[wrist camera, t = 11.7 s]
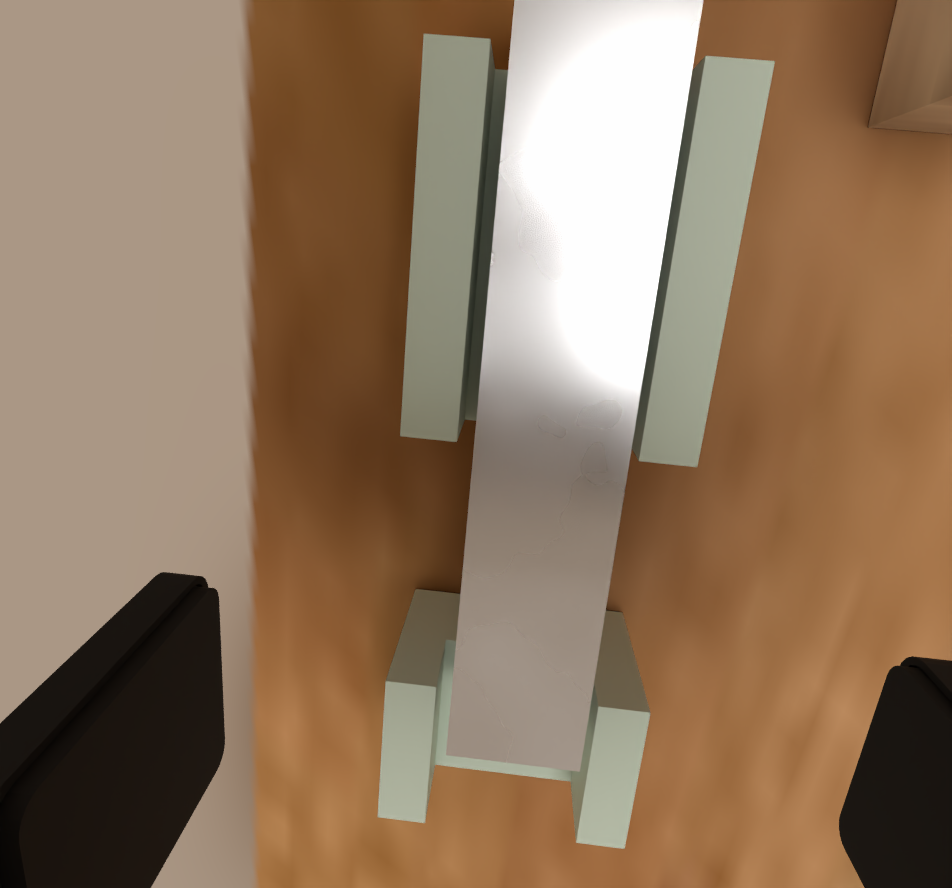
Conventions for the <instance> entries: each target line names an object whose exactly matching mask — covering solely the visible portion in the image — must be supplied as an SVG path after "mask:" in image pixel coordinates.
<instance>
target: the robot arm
mask: <svg viewBox="0 0 952 888" xmlns="http://www.w3.org/2000/svg"><path fill="white" fill-rule="evenodd" d="M222 685H223V684H222V661H221V636H220V613H219V596H218V592H217V590H216V589H214V588H208V584H207V582H206V579H205V578H203V577H202V576H194V575H185V574H176V573H166V572H163V573H160V574H158V575H157V576H155V577H154V578H153V579H152V580H151V581H150V582H149V583H148V584H147V585H146V586H145V587H144V588H143V589H142V590H141V591H139V593H137V594H136V595H135V596H134V597H133V598H132V599H131V600H130V601H129V602H128V603H127V604H126V605H125V606H124V607H123V608H122V609H120V611H118V612H117V613H116V614H115V615H114V616H113V617H112V618H111V619H110V620H109V621H108V622H107V623H106V624H105V625H104V626H103V627H102V628H100V629H99V630H98V631H97V632H96V633H95V634H94V635H93V636H92V637H91V638H90V639H89V640H88V641H87V642H86V643H85V644H84V645H82V646H81V647H80V649H78V650H77V651H76V652H75V653H74V654H73V655H72V656H71V657H70V658H69V659H68V660H67V661H66V662H65V663H63V664H62V665H61V666H60V667H59V668H58V669H57V670H56V671H55V672H54V673H53V674H52V675H51V676H50V677H49V678H48V679H47V680H46V681H44V682H43V683H42V685H40V686H39V687H38V688H37V689H36V690H35V691H34V692H33V693H32V694H31V695H30V696H29V697H28V698H27V699H25V701H23V702H22V703H21V704H20V705H19V706H18V707H17V708H16V709H15V710H14V711H13V712H12V713H11V714H10V715H9V716H8V717H6V718H5V719H4V720H3V721H2V722H1V723H0V888H151V886H152V884H153V883H154V881H155V879H156V877H157V876H158V874H159V872H160V870H161V868H162V867H163V865H164V863H165V862H166V859H167V858H168V856H169V854H170V853H171V851H172V849H173V847H174V846H175V844H176V842H177V840H178V839H179V837H180V835H181V833H182V831H183V830H184V828H185V826H186V824H187V823H188V821H189V819H190V817H191V816H192V814H193V812H194V810H195V808H196V806H197V805H198V803H199V801H200V800H201V798H202V796H203V794H204V792H205V791H206V789H207V787H208V785H209V784H210V782H211V780H212V778H213V777H214V775H215V773H216V771H217V769H218V767H219V765H220V762H221V759H222V756H223V751H224V745H225V732H224V711H223V709H224V708H223V686H222ZM839 831H840V837H841V841H842V844H843V846H844V849H845V851H846V853H847V854H848V856H849V858H850V860H851V862H852V864H853V866H854V868H855V870H856V872H857V874H858V876H859V878H860V880H861V882H862V883H863V885H864V887H865V888H952V661H948V660H939V659H930V658H921V657H913V656H912V657H908V658H906V659H905V660H904V661H903V662H902V663H901V665H900V666H895V667H893V668H891V669H890V671H889V673H888V675H887V677H886V680H885V683H884V686H883V689H882V692H881V695H880V698H879V701H878V704H877V707H876V710H875V713H874V716H873V719H872V722H871V725H870V728H869V731H868V734H867V737H866V740H865V743H864V746H863V749H862V752H861V755H860V758H859V761H858V764H857V766H856V769H855V772H854V775H853V778H852V781H851V784H850V787H849V790H848V793H847V796H846V799H845V802H844V805H843V808H842V811H841V814H840V819H839Z"/></svg>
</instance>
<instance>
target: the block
mask: <svg viewBox="0 0 952 888" xmlns="http://www.w3.org/2000/svg"><path fill="white" fill-rule="evenodd" d="M868 127H871V128H883V129H895V130H907V131H919V132H931V133H944V134H952V0H897V4H896V8H895V13H894V17H893V21H892V26H891V30H890V34H889V38H888V43H887V47H886V51H885V56H884V60H883V64H882V69H881V73H880V77H879V82H878V86H877V90H876V95H875V99H874V103H873V108H872V112H871V116H870V121H869V125H868Z"/></svg>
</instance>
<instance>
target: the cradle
mask: <svg viewBox="0 0 952 888" xmlns="http://www.w3.org/2000/svg"><path fill="white" fill-rule="evenodd" d="M774 63H775V61H766V60H754V59H741V58H728V57H715V56H705V57H704V58H703V59H702V60H701V61H700V63H699V64H698V65H697V66H696V67H695V68H694V69H693V70H692V75H691V81H690V87H689V93H688V100H687V106H686V112H685V118H684V125H683V131H682V137H681V143H680V150H679V156H678V162H677V168H676V174H675V181H674V187H673V193H672V199H671V206H670V212H669V218H668V224H667V231H666V237H665V243H664V249H663V256H662V262H661V268H660V274H659V281H658V287H657V293H656V299H655V306H654V312H653V318H652V324H651V331H650V337H649V343H648V349H647V356H646V362H645V368H644V374H643V380H642V387H641V393H640V399H639V405H638V412H637V418H636V424H635V430H634V437H633V443H632V450H633V451H634V453H635V455H636V457H637V459H638V460H639V461H642V462H652V463H661V464H671V465H681V466H690V467H697V466H698V461H699V456H700V451H701V445H702V440H703V435H704V430H705V425H706V419H707V414H708V409H709V404H710V398H711V393H712V388H713V383H714V377H715V372H716V367H717V362H718V356H719V351H720V346H721V341H722V336H723V330H724V325H725V320H726V315H727V309H728V304H729V299H730V294H731V288H732V283H733V278H734V273H735V267H736V262H737V257H738V252H739V247H740V241H741V236H742V231H743V226H744V220H745V215H746V210H747V205H748V199H749V194H750V189H751V184H752V178H753V173H754V168H755V163H756V158H757V152H758V147H759V142H760V137H761V131H762V126H763V121H764V116H765V110H766V105H767V100H768V95H769V89H770V84H771V79H772V74H773V69H774ZM507 78H508V70H499V69H495V65H494V58H493V52H492V45H491V39H487V38H474V37H461V36H448V35H436V34H424V38H423V55H422V72H421V89H420V106H419V123H418V140H417V157H416V174H415V191H414V208H413V225H412V242H411V259H410V276H409V293H408V310H407V327H406V344H405V361H404V379H403V396H402V413H401V430H400V436H403V437H412V438H422V439H432V440H441V441H451V442H457V440H458V437H459V435H460V432H461V429H462V426H463V423H464V421H465V420H474V421H476V418H477V407H478V396H479V385H480V374H481V363H482V352H483V341H484V330H485V319H486V308H487V297H488V286H489V275H490V264H491V253H492V242H493V231H494V220H495V209H496V198H497V187H498V176H499V165H500V154H501V143H502V132H503V122H504V111H505V100H506V89H507ZM459 605H460V594H456V593H448V592H439V591H430V590H421V589H415V592H414V595H413V598H412V601H411V605H410V608H409V611H408V614H407V617H406V620H405V623H404V626H403V629H402V632H401V635H400V638H399V642H398V645H397V648H396V651H395V654H394V657H393V660H392V663H391V666H390V669H389V672H388V675H387V679H386V685H385V702H384V719H383V736H382V753H381V770H380V787H379V804H378V817H381V818H389V819H397V820H404V821H412V822H420V823H425V820H426V814H427V808H428V802H429V797H430V791H431V785H432V779H433V774H434V768H435V765H443V766H451V767H459V768H467V769H475V770H483V771H491V772H499V773H507V774H515V775H523V776H531V777H539V778H547V779H555V780H563V781H571V791H572V802H573V814H574V825H575V836H576V843H583V844H591V845H599V846H606V847H614V848H622V849H625V843H626V838H627V833H628V828H629V822H630V817H631V812H632V807H633V802H634V796H635V791H636V786H637V781H638V775H639V770H640V765H641V760H642V754H643V749H644V744H645V739H646V733H647V728H648V723H649V718H650V709H649V706H648V702H647V699H646V695H645V691H644V688H643V684H642V681H641V677H640V673H639V670H638V666H637V663H636V659H635V655H634V652H633V648H632V645H631V641H630V637H629V634H628V630H627V627H626V623H625V619H624V616H623V612H614V611H605V618H604V624H603V630H602V636H601V643H600V649H599V655H598V661H597V668H596V674H595V680H594V686H593V693H592V699H591V705H590V711H589V718H588V724H587V730H586V736H585V743H584V749H583V755H582V761H581V767H580V772H578V771H570V770H562V769H554V768H546V767H537V766H529V765H521V764H513V763H505V762H497V761H489V760H481V759H473V758H465V757H457V756H449V755H446V748H447V737H448V726H449V715H450V704H451V693H452V682H453V671H454V660H455V649H456V638H457V627H458V616H459Z"/></svg>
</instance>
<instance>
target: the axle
mask: <svg viewBox="0 0 952 888" xmlns="http://www.w3.org/2000/svg"><path fill="white" fill-rule="evenodd" d="M702 6H703V0H515V1H514V12H513V23H512V34H511V45H510V56H509V67H508V78H507V89H506V100H505V111H504V122H503V132H502V143H501V154H500V165H499V176H498V187H497V198H496V209H495V220H494V231H493V242H492V253H491V264H490V275H489V286H488V297H487V308H486V319H485V330H484V341H483V352H482V363H481V374H480V385H479V396H478V407H477V418H476V429H475V440H474V451H473V462H472V473H471V484H470V495H469V506H468V517H467V528H466V539H465V550H464V561H463V572H462V583H461V594H460V605H459V616H458V627H457V638H456V649H455V660H454V671H453V682H452V693H451V704H450V715H449V726H448V737H447V748H446V755H449V756H457V757H465V758H473V759H481V760H489V761H497V762H505V763H513V764H521V765H529V766H537V767H546V768H554V769H562V770H570V771H578V772H580V767H581V761H582V755H583V749H584V743H585V736H586V730H587V724H588V718H589V711H590V705H591V699H592V693H593V686H594V680H595V674H596V668H597V661H598V655H599V649H600V643H601V636H602V630H603V624H604V618H605V611H606V605H607V599H608V593H609V586H610V580H611V574H612V568H613V562H614V555H615V549H616V543H617V537H618V530H619V524H620V518H621V512H622V505H623V499H624V493H625V487H626V480H627V474H628V468H629V462H630V455H631V449H632V443H633V437H634V430H635V424H636V418H637V412H638V405H639V399H640V393H641V387H642V380H643V374H644V368H645V362H646V356H647V349H648V343H649V337H650V331H651V324H652V318H653V312H654V306H655V299H656V293H657V287H658V281H659V274H660V268H661V262H662V256H663V249H664V243H665V237H666V231H667V224H668V218H669V212H670V206H671V199H672V193H673V187H674V181H675V174H676V168H677V162H678V156H679V150H680V143H681V137H682V131H683V125H684V118H685V112H686V106H687V100H688V93H689V87H690V81H691V75H692V68H693V62H694V56H695V50H696V43H697V37H698V31H699V25H700V18H701V12H702Z"/></svg>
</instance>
